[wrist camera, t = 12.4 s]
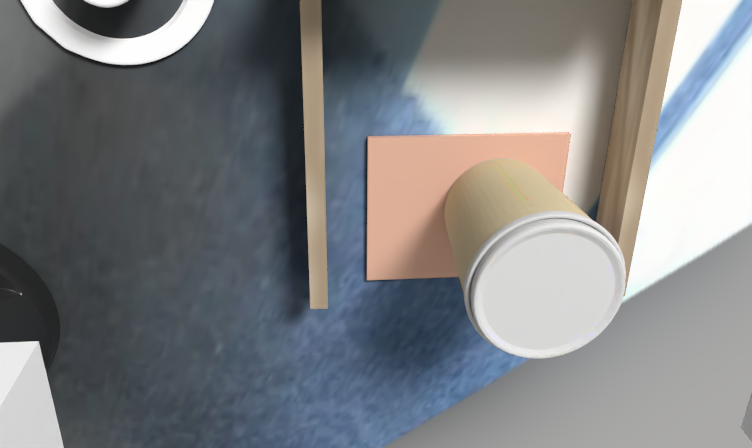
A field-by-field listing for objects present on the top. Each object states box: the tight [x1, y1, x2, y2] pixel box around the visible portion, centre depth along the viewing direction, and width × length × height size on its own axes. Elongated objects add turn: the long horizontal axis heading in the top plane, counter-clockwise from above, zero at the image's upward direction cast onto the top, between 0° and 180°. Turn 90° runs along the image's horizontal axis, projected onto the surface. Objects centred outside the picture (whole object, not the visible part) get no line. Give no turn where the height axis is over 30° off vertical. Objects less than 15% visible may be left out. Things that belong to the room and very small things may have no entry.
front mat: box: [367, 132, 571, 280], centre depth 50 cm, size 14×11×1 cm
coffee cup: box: [444, 158, 626, 359], centre depth 44 cm, size 9×9×12 cm
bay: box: [300, 0, 682, 309], centre depth 43 cm, size 22×24×10 cm
